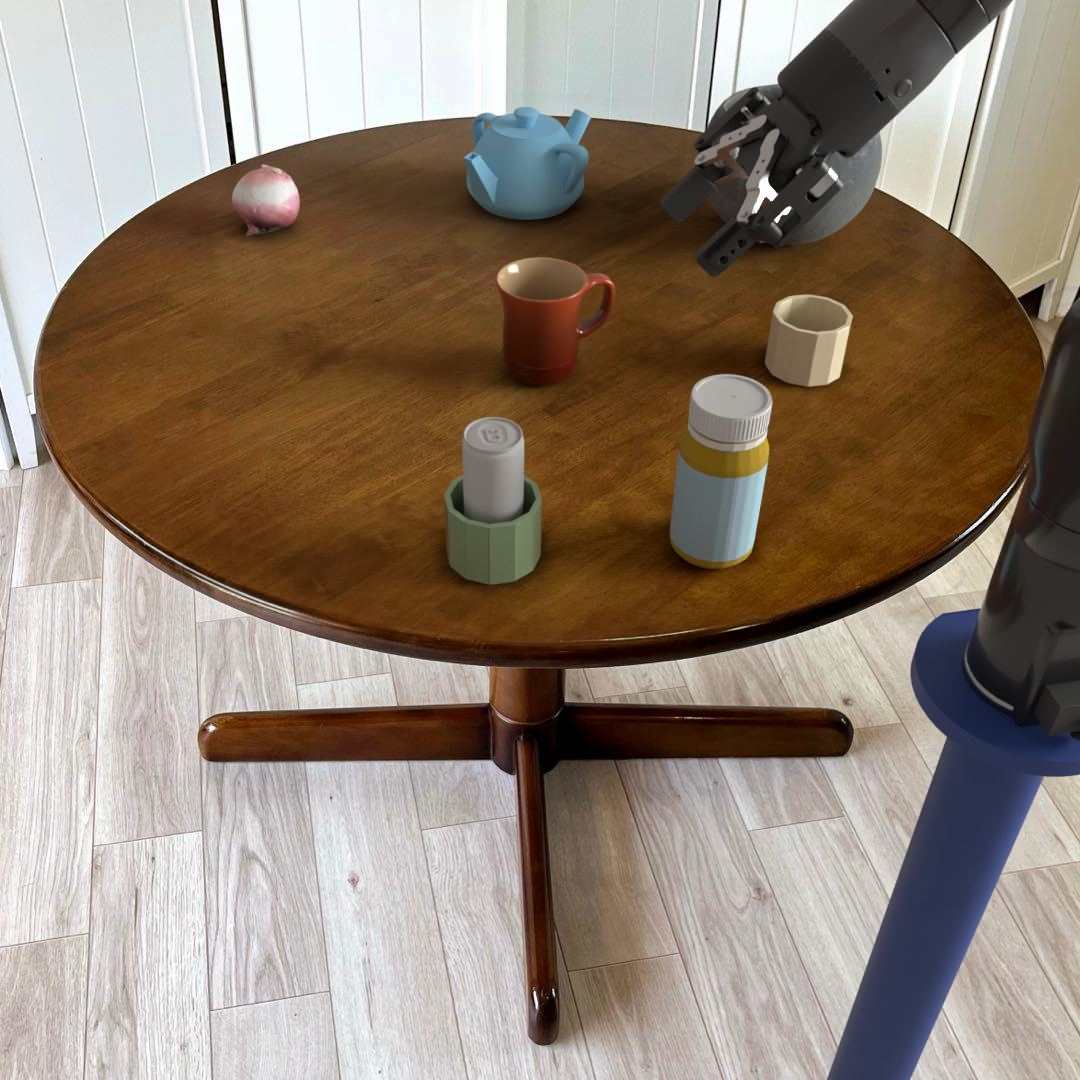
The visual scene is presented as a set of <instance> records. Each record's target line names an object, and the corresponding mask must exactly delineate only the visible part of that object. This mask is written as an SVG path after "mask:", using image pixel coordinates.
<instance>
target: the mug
mask: <svg viewBox="0 0 1080 1080" xmlns="http://www.w3.org/2000/svg"><path fill="white" fill-rule="evenodd" d="M495 285H496V287H497V290H498V291H497V292H498V293H499V297H500V300H501V303H502V309H503V320H502V321H503V323H502V348H501V352H502V356H503V363H504V367H505V370H506V372H507V374H508V375H510V377H512V378H513V379H515V380H517V381H518V382H520V383H522V384H525V385H529V386H535V387H545V386H552V385H556V384H559V383H560V382H562V381H564V380H566V379H568V378H569V377H570V376H571V375H572V374H573V372H574V370H575V367H576V364H577V362H578V355H579V341H580V340H581V339H584V338H586V337H588V336H591V334H593V333H594V332H596V331H597V330H599V329H600V328H601V327H602V326H603V325H604V324H605V323H606V322H607V320H608V319H609V317H610V315H611V313H612V311H613V308H614V304H615V301H616V286H615V284H614V282H613V280H612V279H611V278H610V277H609V276H608V275H606V274H604V273H602V272H601V273H600V272H595V273H586V272H585V271H584V270H583V269H582V268H581V267H580V266H578V265H577V264H575V263H573V262H570V261H567V260H563V259H559V258H553V257H543V256H538V257H537V256H536V257H525V258H521V259H517V260H514V261H511V262H509V263H507V264H505V265H503V267H501V268H500V269H499V270H498V271H497V273H496V275H495ZM601 285H602V286H603V294H602V298H601V299H602V300H601V303H600V306H599V308H598V310H597V311H596V313H595V314H594V315H593V316H592V317H590V318H588V319H587V320H583V321H579V315H580V307H581V303H582V300H583V298H584V295H585V294H587V293H588V292H589V291H590V290H592V289H593V288H594V287H596V286H601Z"/></svg>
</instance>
